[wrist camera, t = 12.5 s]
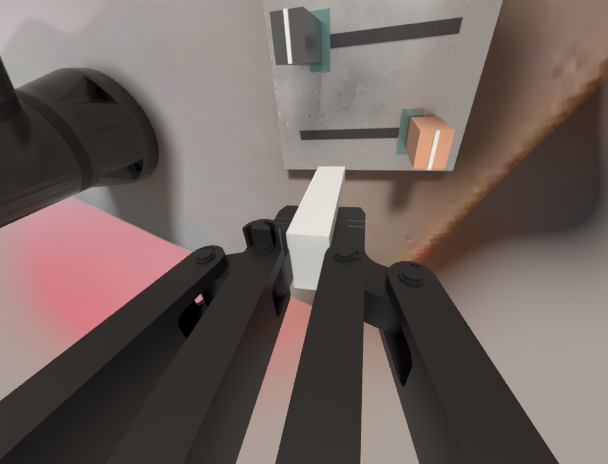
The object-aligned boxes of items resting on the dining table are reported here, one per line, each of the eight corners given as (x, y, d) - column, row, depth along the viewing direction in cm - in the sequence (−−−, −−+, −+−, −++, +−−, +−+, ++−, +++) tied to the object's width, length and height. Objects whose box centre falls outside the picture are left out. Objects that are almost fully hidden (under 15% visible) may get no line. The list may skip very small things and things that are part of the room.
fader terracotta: (405, 148, 24) (413, 169, 19) (410, 117, 23) (420, 131, 18) (430, 148, 24) (445, 169, 19) (437, 115, 22) (456, 130, 17)
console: (288, 163, 31) (283, 169, 29) (269, -4, 22) (260, -10, 20) (448, 164, 26) (453, 171, 25) (506, -47, 17) (520, -59, 16)
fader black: (296, 65, 22) (275, 65, 18) (293, 23, 21) (268, 11, 16) (320, 62, 22) (305, 62, 17) (319, 19, 20) (302, 5, 15)
